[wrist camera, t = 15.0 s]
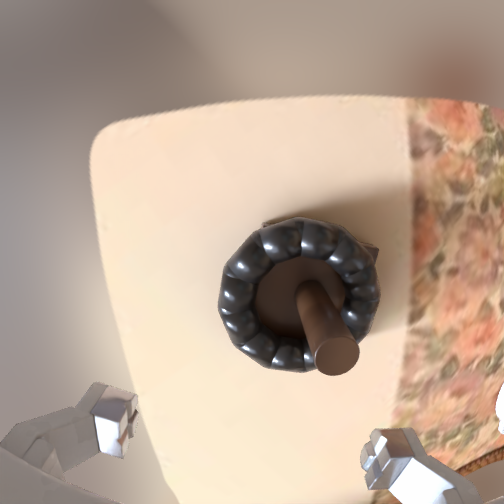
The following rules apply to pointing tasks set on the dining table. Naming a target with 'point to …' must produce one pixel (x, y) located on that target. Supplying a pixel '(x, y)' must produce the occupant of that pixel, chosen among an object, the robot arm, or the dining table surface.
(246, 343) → the ring
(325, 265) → the peg stand
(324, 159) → the dining table surface
